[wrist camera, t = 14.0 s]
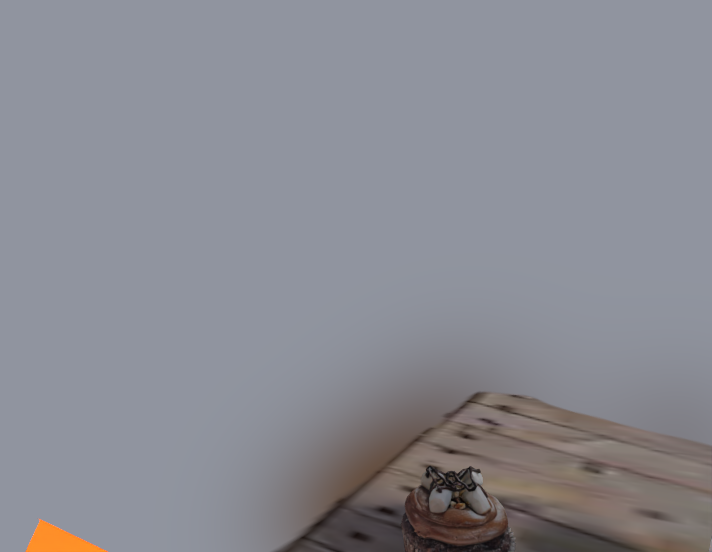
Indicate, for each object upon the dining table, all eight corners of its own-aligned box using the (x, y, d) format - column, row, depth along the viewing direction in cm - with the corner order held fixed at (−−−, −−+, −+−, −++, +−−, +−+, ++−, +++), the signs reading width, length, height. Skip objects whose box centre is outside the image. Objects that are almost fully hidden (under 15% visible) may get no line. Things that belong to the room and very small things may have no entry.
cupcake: (421, 627, 53) (432, 513, 51) (385, 553, 62) (392, 453, 60) (530, 611, 55) (544, 502, 53) (479, 542, 64) (490, 446, 62)
